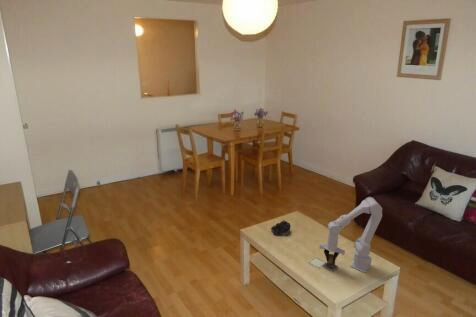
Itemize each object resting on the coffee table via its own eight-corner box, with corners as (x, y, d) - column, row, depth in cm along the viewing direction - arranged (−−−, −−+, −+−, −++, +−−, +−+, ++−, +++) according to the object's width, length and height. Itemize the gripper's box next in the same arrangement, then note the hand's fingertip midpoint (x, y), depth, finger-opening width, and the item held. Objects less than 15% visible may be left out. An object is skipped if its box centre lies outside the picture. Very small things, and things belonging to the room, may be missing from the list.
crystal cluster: (268, 230, 249) (267, 219, 245) (283, 224, 254) (283, 213, 250) (277, 240, 238) (277, 228, 234) (293, 234, 243) (294, 223, 239)
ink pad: (338, 267, 205) (338, 265, 205) (332, 272, 201) (333, 270, 201) (328, 262, 210) (328, 260, 210) (322, 266, 206) (322, 265, 206)
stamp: (335, 264, 206) (335, 254, 204) (333, 268, 203) (334, 258, 200) (327, 262, 208) (328, 252, 206) (326, 266, 204) (326, 256, 202)
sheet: (327, 262, 210) (327, 262, 210) (319, 269, 204) (319, 268, 204) (315, 256, 216) (315, 256, 216) (306, 262, 210) (306, 262, 210)
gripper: (346, 241, 200) (344, 261, 204) (322, 235, 207) (320, 254, 211) (344, 247, 194) (342, 267, 198) (319, 240, 201) (317, 260, 205)
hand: (330, 261), depth 204 cm, fingers closed on stamp, 3 cm apart
